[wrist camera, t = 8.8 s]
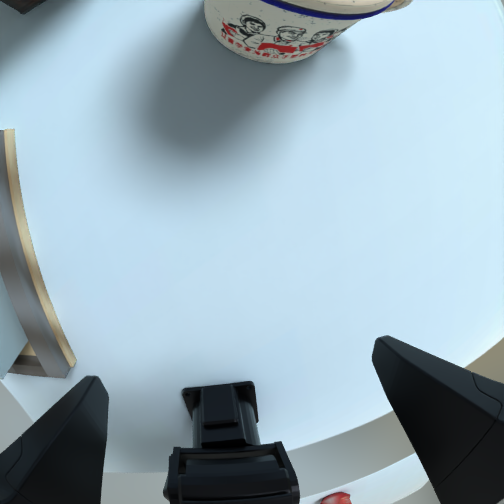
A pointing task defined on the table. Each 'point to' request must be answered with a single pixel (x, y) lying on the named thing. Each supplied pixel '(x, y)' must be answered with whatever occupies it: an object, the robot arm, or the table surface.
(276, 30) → the teacup with lid
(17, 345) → the light blue block
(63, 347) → the grey and beige frame
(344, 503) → the liquor
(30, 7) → the manual coffee grinder
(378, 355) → the robot arm
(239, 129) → the table surface
